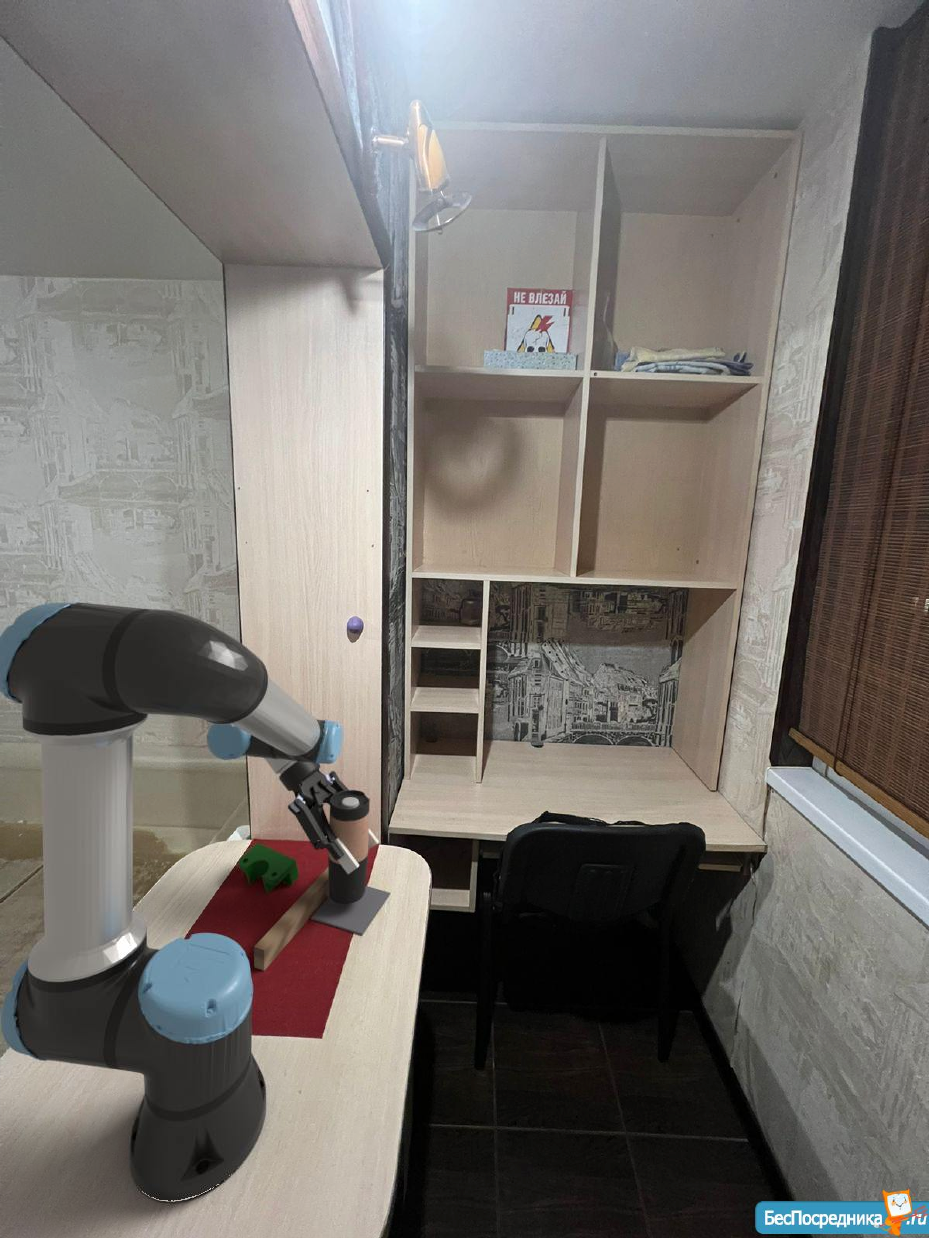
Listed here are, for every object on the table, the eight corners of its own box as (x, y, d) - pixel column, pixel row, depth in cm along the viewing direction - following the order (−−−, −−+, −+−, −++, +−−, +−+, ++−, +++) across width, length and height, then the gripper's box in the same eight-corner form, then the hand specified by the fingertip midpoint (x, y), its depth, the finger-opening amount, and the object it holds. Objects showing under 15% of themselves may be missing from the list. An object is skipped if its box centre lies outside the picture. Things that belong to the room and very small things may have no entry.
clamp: (250, 897, 111) (230, 862, 110) (271, 876, 116) (252, 842, 115) (284, 900, 105) (263, 863, 103) (305, 878, 109) (286, 842, 108)
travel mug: (321, 902, 101) (323, 806, 98) (336, 876, 108) (338, 787, 105) (359, 908, 100) (362, 812, 97) (371, 882, 107) (375, 792, 104)
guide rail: (264, 970, 88) (264, 950, 88) (254, 967, 89) (254, 946, 88) (341, 880, 112) (341, 863, 111) (333, 877, 112) (333, 861, 112)
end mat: (362, 935, 97) (362, 933, 97) (311, 919, 100) (311, 917, 100) (390, 894, 109) (390, 892, 109) (343, 880, 112) (343, 879, 112)
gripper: (311, 754, 114) (375, 838, 112) (247, 796, 95) (323, 899, 93) (333, 735, 112) (399, 821, 110) (272, 775, 93) (350, 880, 91)
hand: (364, 857), depth 102 cm, fingers closed on travel mug, 7 cm apart
